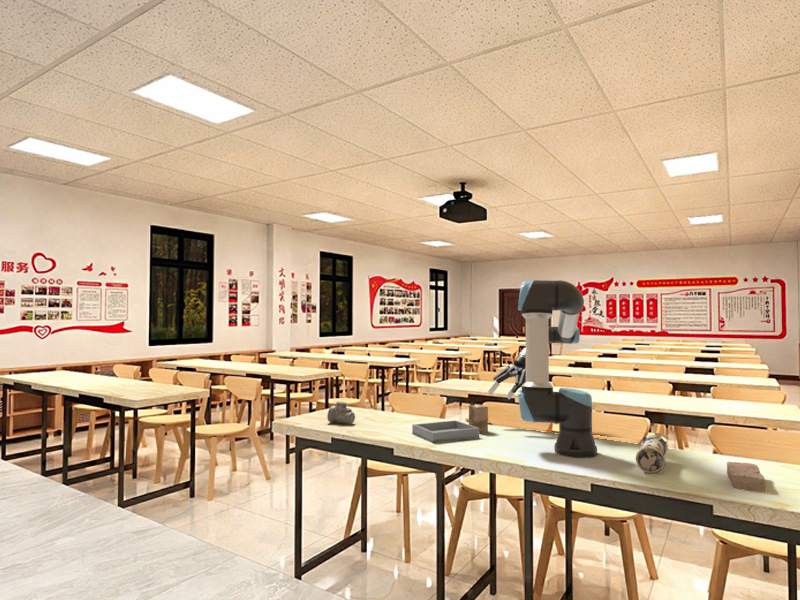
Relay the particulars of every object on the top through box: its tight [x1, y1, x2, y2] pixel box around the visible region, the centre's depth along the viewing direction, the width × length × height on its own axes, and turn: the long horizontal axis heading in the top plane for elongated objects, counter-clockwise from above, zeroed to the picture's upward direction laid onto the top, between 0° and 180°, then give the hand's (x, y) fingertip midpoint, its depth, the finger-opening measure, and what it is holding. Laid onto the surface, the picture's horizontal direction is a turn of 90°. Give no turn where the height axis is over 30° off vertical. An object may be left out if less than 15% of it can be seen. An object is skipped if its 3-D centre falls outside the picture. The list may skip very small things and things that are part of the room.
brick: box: [726, 461, 766, 493], centre depth 163 cm, size 16×8×5 cm, turn 154°
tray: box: [411, 420, 480, 444], centre depth 224 cm, size 18×22×4 cm
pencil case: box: [635, 432, 668, 474], centre depth 179 cm, size 22×8×10 cm, turn 151°
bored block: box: [468, 404, 489, 434], centre depth 233 cm, size 6×6×11 cm
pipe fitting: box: [326, 400, 356, 426], centre depth 248 cm, size 12×8×10 cm
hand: (498, 395), depth 238 cm, fingers open, 13 cm apart
